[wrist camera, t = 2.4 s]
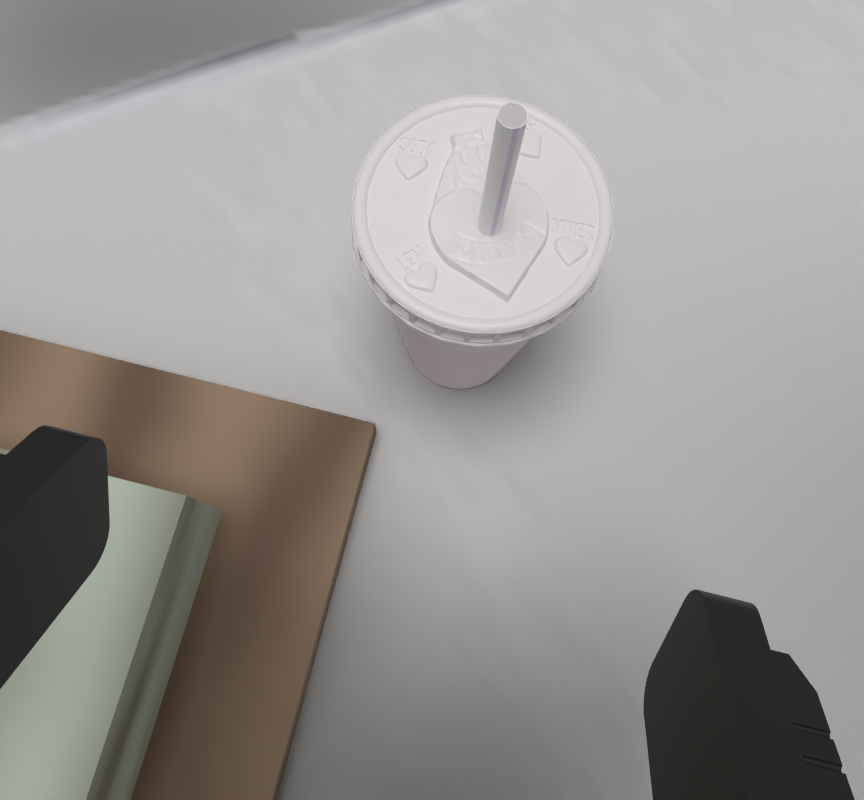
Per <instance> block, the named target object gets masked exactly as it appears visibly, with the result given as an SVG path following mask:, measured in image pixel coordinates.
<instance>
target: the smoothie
mask: <svg viewBox="0 0 864 800" xmlns="http://www.w3.org/2000/svg"><path fill="white" fill-rule="evenodd" d="M351 210H352V216H351V220H352V238H353V249H354V252H355V255H356V257H357V260H358V263H359V266H360V269H361V272H362V274H363V277H364V279H365V280H366V282H367V283H368V285H369V286H370V287H371V289H372V290H373V292H374V293H375V294H376V296H377V297H378V299H379V300H380V301H381V303H382V304H383V305H384V306H385V307H386V308H387V309H389V310H390V311H391V312H392V314H393V316H394V318H395V321H396V323H397V325H398V328H399V330H400V332H401V335H402V337H403V339H404V342H405V344H406V346H407V349H408V351H409V353H410V356H411V358H412V360H413V362H414V364H415V365H416V367H417V368H418V370H419V371H420V372H421V373H422V374H423V375H424V376H425V377H427V378H428V379H429V380H431V381H432V382H434V383H436V384H438V385H441V386H444V387H447V388H453V389H467V388H472V387H476V386H478V385H481V384H483V383H485V382H487V381H488V380H490V379H491V378H492V377H494V376H495V375H496V374H497V373H498V372H499V371H500V370H501V369H502V368H503V367H504V366H505V365H506V364H507V363H508V362H509V361H510V359H511V358H512V357H513V356H514V355H515V354H516V353H517V352H518V351H519V350H520V349H521V348H522V347H523V346H524V345H525V344H526V343H527V342H528V341H529V340H530V339H531V338H533V337H536V336H539V335H542V334H544V333H545V332H547V331H548V330H550V329H551V328H553V327H554V326H556V325H557V324H559V323H560V322H562V321H563V320H565V319H566V318H568V317H569V316H571V314H572V313H573V312H574V311H575V310H576V309H577V307H578V306H579V305H580V304H581V303H582V302H583V301H584V299H585V298H586V297H587V296H588V295H589V294H590V292H591V291H592V289H593V287H594V285H595V282H596V280H597V278H598V276H599V274H600V271H601V269H602V267H603V265H604V262H605V260H606V258H607V255H608V252H609V249H610V245H611V241H612V236H613V229H614V207H613V199H612V194H611V190H610V186H609V183H608V181H607V178H606V175H605V173H604V171H603V169H602V167H601V164H600V163H599V161H598V159H597V158H596V156H595V154H594V153H593V152H592V150H591V149H590V148H589V146H588V145H587V144H586V143H585V142H584V141H583V139H582V138H581V137H580V136H579V135H578V134H577V133H576V132H575V131H573V130H572V129H571V128H570V127H569V126H568V125H566V124H565V123H564V122H562V121H561V120H560V119H558V118H556V117H555V116H553V115H552V114H550V113H548V112H546V111H544V110H542V109H540V108H538V107H536V106H533V105H531V104H528V103H525V102H522V101H519V100H515V99H511V98H507V97H501V96H493V95H465V96H457V97H451V98H447V99H442V100H439V101H436V102H433V103H430V104H427V105H425V106H423V107H420V108H418V109H416V110H414V111H412V112H410V113H409V114H407V115H406V116H404V117H403V118H401V119H400V120H398V121H397V122H396V123H394V124H393V125H392V126H391V127H390V128H389V129H387V130H386V131H385V132H384V133H383V134H382V135H381V137H380V138H379V139H378V140H377V141H376V142H375V144H374V145H373V146H372V148H371V149H370V151H369V152H368V154H367V156H366V157H365V159H364V161H363V163H362V165H361V168H360V170H359V172H358V175H357V178H356V182H355V185H354V190H353V196H352V208H351Z"/></svg>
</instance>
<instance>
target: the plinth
mask: <svg viewBox="0 0 864 800" xmlns="http://www.w3.org/2000/svg"><path fill="white" fill-rule="evenodd" d="M44 425H49V426H53V427H57V428H61V429H65V430H69V431H73V432H77V433H81V434H85V435H89V436H93V437H97V438H100V439H102V440H103V441H104V443H105V445H106V449H107V466H108V492H109V517H110V528H109V535H108V539H107V543H106V546H105V549H104V552H103V554H102V556H101V558H100V560H99V562H98V564H97V566H96V567H95V569H94V570H93V572H92V573H91V574H90V575H89V577H88V578H87V579H86V581H85V582H84V583H83V584H82V586H81V587H80V588H79V589H78V591H77V592H76V593H75V595H74V596H73V597H72V598H71V600H70V601H69V602H68V604H67V605H66V606H65V607H64V609H63V610H62V611H61V612H60V614H59V615H58V616H57V618H56V619H55V620H54V621H53V623H52V624H51V625H50V627H49V628H48V629H47V630H46V632H45V633H44V634H43V635H42V637H41V638H40V639H39V641H38V642H37V643H36V644H35V646H34V647H33V648H32V650H31V651H30V652H29V653H28V655H27V656H26V657H25V658H24V660H23V661H22V662H21V664H20V665H19V666H18V667H17V669H16V670H15V671H14V672H13V674H12V675H11V676H10V678H9V679H8V680H7V681H6V683H5V684H4V685H3V687H2V688H1V689H0V800H276V797H277V793H278V789H279V786H280V782H281V778H282V775H283V771H284V767H285V764H286V760H287V756H288V753H289V749H290V745H291V742H292V738H293V734H294V731H295V727H296V723H297V720H298V716H299V712H300V709H301V705H302V702H303V698H304V694H305V691H306V687H307V683H308V680H309V676H310V672H311V669H312V665H313V661H314V658H315V654H316V650H317V647H318V643H319V639H320V636H321V632H322V628H323V625H324V621H325V617H326V614H327V610H328V606H329V603H330V599H331V595H332V592H333V588H334V584H335V581H336V577H337V573H338V570H339V566H340V562H341V559H342V555H343V551H344V548H345V544H346V540H347V537H348V533H349V529H350V526H351V522H352V519H353V515H354V511H355V508H356V504H357V500H358V497H359V493H360V489H361V486H362V482H363V478H364V475H365V471H366V467H367V464H368V460H369V456H370V453H371V449H372V445H373V442H374V438H375V434H376V427H375V424H374V423H370V422H366V421H362V420H358V419H354V418H350V417H346V416H342V415H338V414H334V413H330V412H326V411H322V410H318V409H314V408H310V407H306V406H302V405H298V404H294V403H290V402H286V401H282V400H278V399H274V398H270V397H266V396H262V395H258V394H254V393H250V392H246V391H242V390H238V389H234V388H230V387H226V386H221V385H217V384H213V383H209V382H205V381H201V380H197V379H193V378H189V377H185V376H181V375H177V374H173V373H169V372H165V371H161V370H157V369H153V368H149V367H145V366H141V365H137V364H133V363H129V362H125V361H121V360H117V359H113V358H109V357H105V356H101V355H97V354H93V353H89V352H85V351H81V350H77V349H73V348H69V347H65V346H61V345H57V344H53V343H49V342H45V341H41V340H37V339H33V338H29V337H25V336H21V335H17V334H13V333H9V332H5V331H1V330H0V453H1V454H5V455H6V454H7V453H8V452H10V451H11V450H12V449H13V448H14V447H15V446H16V445H18V444H19V443H20V442H21V441H22V440H23V439H25V438H26V437H27V436H28V435H29V434H30V433H31V432H33V431H34V430H35V429H37V428H38V427H40V426H44Z"/></svg>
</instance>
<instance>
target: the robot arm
mask: <svg viewBox="0 0 864 800" xmlns="http://www.w3.org/2000/svg"><path fill="white" fill-rule="evenodd" d="M109 528H110V517H109V492H108V466H107V449H106V445H105V443H104V441H103V440H102V439H100V438H97V437H93V436H89V435H85V434H81V433H77V432H73V431H69V430H65V429H61V428H57V427H53V426H49V425H44V426H40V427H38V428H37V429H35V430H34V431H33V432H31V433H30V434H29V435H28V436H27V437H26V438H25V439H23V440H22V441H21V442H20V443H19V444H18V445H16V446H15V447H14V448H13V449H12V450H11V451H10V452H8V453H7V454H6V455H5V454H1V453H0V689H1V688H2V687H3V685H4V684H5V683H6V681H7V680H8V679H9V678H10V676H11V675H12V674H13V672H14V671H15V670H16V669H17V667H18V666H19V665H20V664H21V662H22V661H23V660H24V658H25V657H26V656H27V655H28V653H29V652H30V651H31V650H32V648H33V647H34V646H35V644H36V643H37V642H38V641H39V639H40V638H41V637H42V635H43V634H44V633H45V632H46V630H47V629H48V628H49V627H50V625H51V624H52V623H53V621H54V620H55V619H56V618H57V616H58V615H59V614H60V612H61V611H62V610H63V609H64V607H65V606H66V605H67V604H68V602H69V601H70V600H71V598H72V597H73V596H74V595H75V593H76V592H77V591H78V589H79V588H80V587H81V586H82V584H83V583H84V582H85V581H86V579H87V578H88V577H89V575H90V574H91V573H92V572H93V570H94V569H95V567H96V566H97V564H98V562H99V560H100V558H101V556H102V554H103V552H104V549H105V546H106V543H107V539H108V535H109ZM644 719H645V728H646V737H647V747H648V756H649V765H650V775H651V784H652V793H653V800H854V797H853V794H852V791H851V789H850V786H849V783H848V780H847V777H846V774H844V773H842V772H841V767H842V763H841V760H840V757H839V754H838V751H837V749H836V746H835V743H834V740H832V739H830V732H831V731H830V729H829V726H828V723H827V720H826V717H825V714H824V711H823V709H822V706H821V703H820V700H819V697H818V694H817V692H816V690H815V689H814V688H813V686H812V685H811V684H810V682H809V681H808V680H807V678H806V677H805V676H804V674H803V673H802V672H801V670H800V669H799V668H798V666H797V665H796V663H795V662H794V661H793V659H792V658H791V657H790V655H789V654H785V653H781V652H777V651H773V650H770V647H769V644H768V640H767V637H766V634H765V631H764V627H763V624H762V621H761V617H760V614H759V612H758V610H757V608H756V607H755V606H754V605H753V604H751V603H748V602H744V601H740V600H736V599H732V598H728V597H724V596H720V595H716V594H712V593H708V592H704V591H700V590H693V591H691V592H690V593H689V594H688V595H687V597H686V598H685V600H684V602H683V604H682V606H681V608H680V610H679V612H678V614H677V616H676V618H675V620H674V622H673V624H672V625H671V627H670V629H669V631H668V633H667V635H666V637H665V639H664V641H663V643H662V645H661V647H660V649H659V651H658V653H657V655H656V657H655V659H654V661H653V663H652V665H651V668H650V670H649V674H648V677H647V682H646V687H645V694H644Z"/></svg>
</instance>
